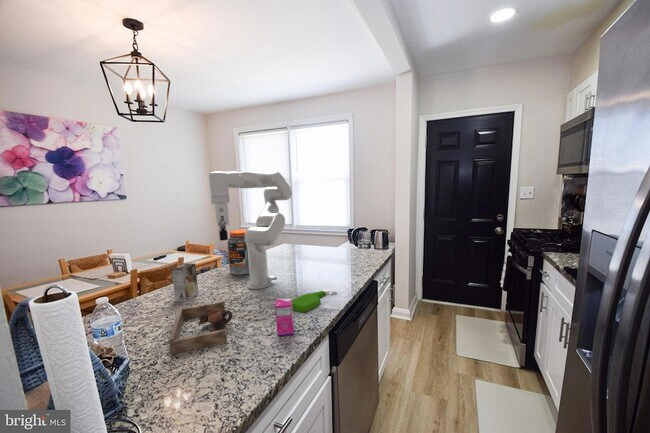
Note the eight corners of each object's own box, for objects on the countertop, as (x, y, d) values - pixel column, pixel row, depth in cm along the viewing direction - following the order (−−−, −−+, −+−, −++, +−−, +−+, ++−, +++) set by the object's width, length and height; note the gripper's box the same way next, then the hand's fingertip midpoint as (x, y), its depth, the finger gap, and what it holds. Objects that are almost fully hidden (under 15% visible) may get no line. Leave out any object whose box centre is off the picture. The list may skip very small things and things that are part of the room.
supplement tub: (224, 274, 166) (220, 232, 163) (241, 266, 180) (238, 228, 177) (245, 276, 160) (241, 233, 157) (261, 268, 174) (258, 229, 171)
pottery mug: (202, 340, 95) (194, 318, 97) (205, 339, 104) (198, 318, 106) (236, 324, 100) (228, 303, 102) (236, 323, 108) (229, 304, 110)
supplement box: (278, 328, 101) (276, 298, 99) (294, 327, 101) (292, 297, 100) (276, 336, 95) (274, 305, 94) (293, 335, 95) (291, 304, 94)
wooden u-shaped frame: (225, 309, 118) (224, 298, 117) (227, 341, 93) (225, 327, 93) (180, 318, 112) (179, 306, 111) (170, 354, 87) (168, 340, 87)
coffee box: (187, 293, 138) (184, 262, 136) (198, 294, 137) (195, 263, 135) (174, 301, 129) (170, 268, 127) (186, 301, 128) (182, 268, 126)
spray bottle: (286, 308, 118) (322, 290, 137) (304, 314, 111) (340, 295, 130) (286, 301, 118) (322, 284, 136) (304, 308, 111) (339, 289, 129)
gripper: (230, 200, 113) (233, 240, 115) (228, 198, 129) (231, 234, 131) (210, 201, 110) (214, 242, 112) (211, 199, 126) (214, 236, 128)
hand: (223, 238), depth 121 cm, fingers open, 9 cm apart
